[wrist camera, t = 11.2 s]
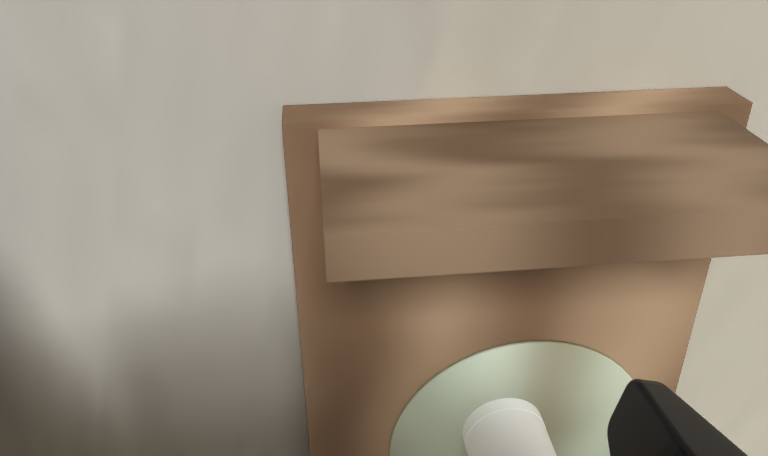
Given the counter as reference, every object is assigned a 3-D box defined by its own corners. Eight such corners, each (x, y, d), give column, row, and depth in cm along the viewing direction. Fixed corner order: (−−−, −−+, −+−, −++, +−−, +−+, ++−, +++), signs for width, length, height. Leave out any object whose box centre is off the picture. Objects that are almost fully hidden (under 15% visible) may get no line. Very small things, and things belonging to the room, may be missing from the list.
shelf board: (321, 563, 32) (326, 750, 26) (282, 105, 21) (275, 229, 15) (616, 534, 33) (693, 705, 27) (726, 86, 22) (900, 193, 16)
